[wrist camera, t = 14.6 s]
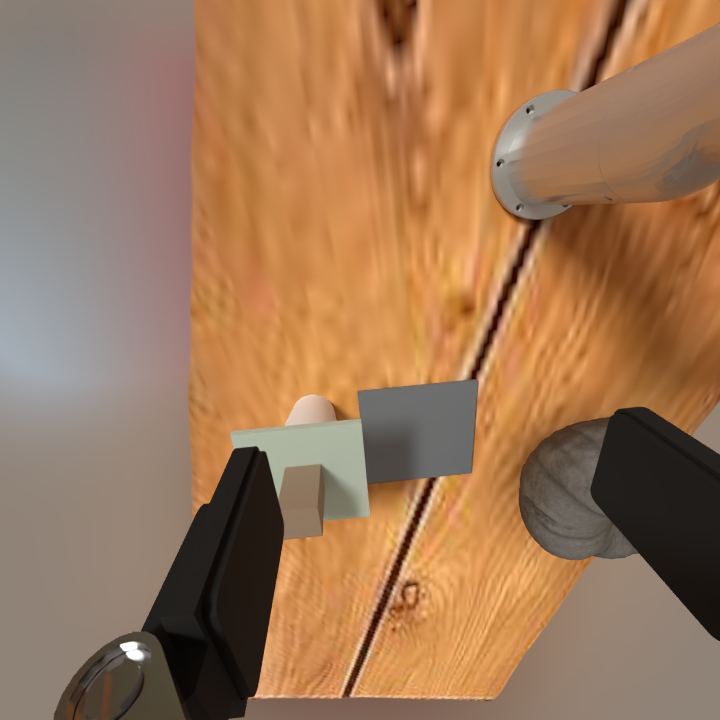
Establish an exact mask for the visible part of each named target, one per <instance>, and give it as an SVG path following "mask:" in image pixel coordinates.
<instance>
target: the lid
mask: <svg viewBox="0 0 720 720" xmlns="http://www.w3.org/2000/svg"><path fill="white" fill-rule="evenodd" d="M230 437H231V441H232V444H233V447H234V449H236V448H243V447H253V446H257V447H258V448H259V450H260V451H265V452H266V453H267V457H268V461H269V465H270V469H271V473H272V477H273V481H274V485H275V488H276V492H277V496H278V500H279V504H280V508H281V512H282V516H283V520H284V538H283V540H287V539H297V538H306V537H316V536H323V521H328V520H338V519H347V518H357V517H367V516H370V511H369V500H368V489H367V478H366V467H365V456H364V445H363V434H362V423H361V419H351V420H341V421H331V422H321V423H310V424H300V425H290V426H280V427H269V428H259V429H249V430H238V431H232V433H231V435H230Z"/></svg>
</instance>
